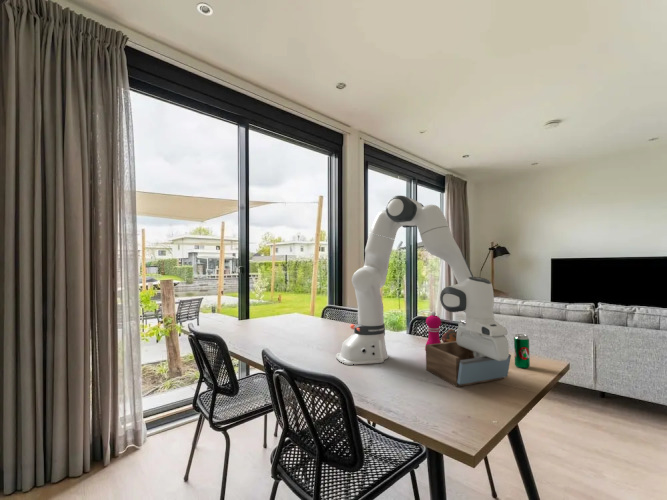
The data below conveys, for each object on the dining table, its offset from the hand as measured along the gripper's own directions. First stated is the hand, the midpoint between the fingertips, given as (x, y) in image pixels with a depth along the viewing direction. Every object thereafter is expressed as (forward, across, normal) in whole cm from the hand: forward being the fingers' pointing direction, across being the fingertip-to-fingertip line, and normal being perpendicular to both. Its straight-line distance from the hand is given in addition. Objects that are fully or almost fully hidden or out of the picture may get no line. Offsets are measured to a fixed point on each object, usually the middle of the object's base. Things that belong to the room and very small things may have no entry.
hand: (480, 365), depth 110 cm
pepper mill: (+6, -25, 0) cm, 26 cm away
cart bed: (+6, -8, 0) cm, 10 cm away
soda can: (+6, -6, +26) cm, 27 cm away
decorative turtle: (+6, -36, +18) cm, 41 cm away
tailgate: (+4, +1, 0) cm, 4 cm away
